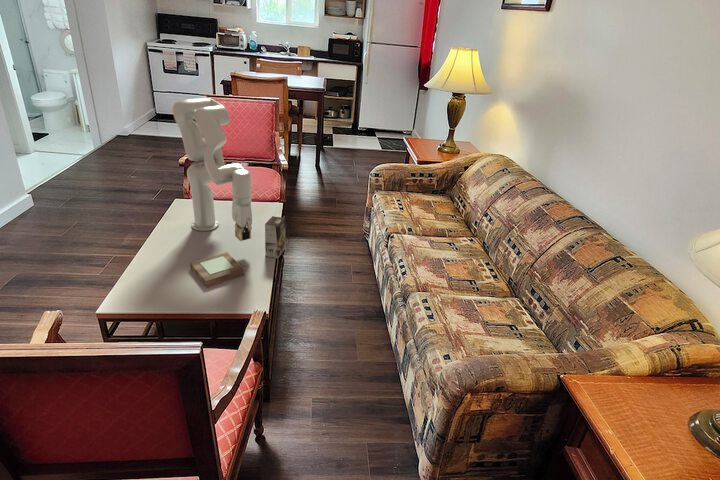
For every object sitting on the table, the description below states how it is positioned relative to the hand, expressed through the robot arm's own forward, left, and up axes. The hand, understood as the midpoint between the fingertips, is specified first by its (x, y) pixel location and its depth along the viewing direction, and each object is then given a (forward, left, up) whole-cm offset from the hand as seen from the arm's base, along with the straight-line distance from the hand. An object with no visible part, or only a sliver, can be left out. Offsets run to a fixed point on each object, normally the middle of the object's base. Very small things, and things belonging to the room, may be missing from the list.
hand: (243, 235), depth 188 cm
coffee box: (+7, +12, -9) cm, 17 cm away
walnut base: (+8, -16, -9) cm, 20 cm away
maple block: (0, 0, -1) cm, 1 cm away
